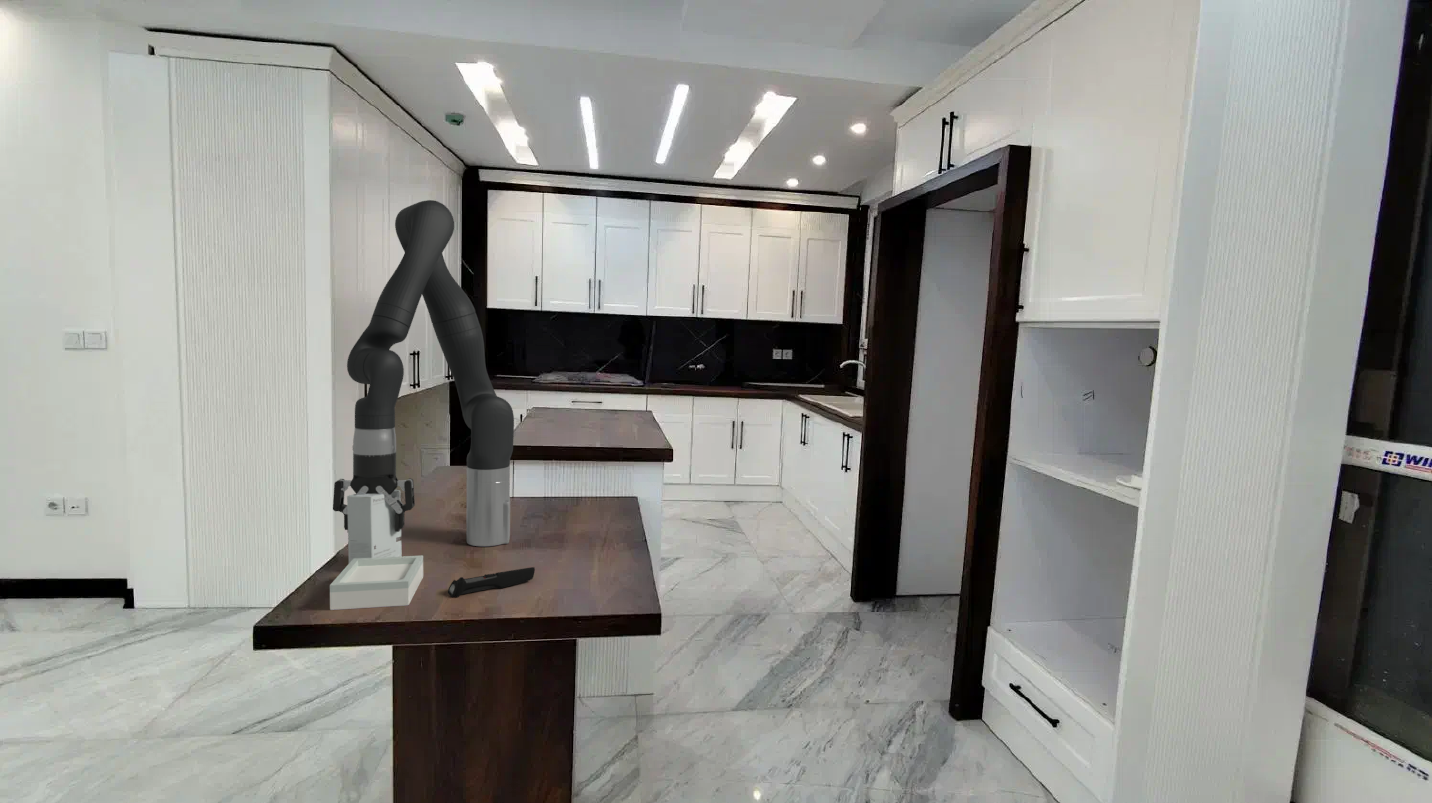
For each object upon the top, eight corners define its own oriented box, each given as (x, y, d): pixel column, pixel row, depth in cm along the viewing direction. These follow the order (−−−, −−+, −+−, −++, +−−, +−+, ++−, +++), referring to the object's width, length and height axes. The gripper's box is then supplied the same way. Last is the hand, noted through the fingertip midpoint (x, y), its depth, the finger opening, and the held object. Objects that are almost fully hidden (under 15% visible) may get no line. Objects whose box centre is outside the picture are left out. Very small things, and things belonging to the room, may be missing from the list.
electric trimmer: (537, 585, 125) (538, 569, 125) (452, 600, 116) (452, 582, 116) (530, 579, 128) (531, 563, 128) (446, 593, 119) (447, 576, 119)
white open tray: (423, 576, 126) (423, 555, 126) (408, 605, 112) (408, 581, 112) (353, 580, 123) (353, 558, 123) (330, 610, 109) (329, 585, 109)
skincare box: (372, 574, 126) (370, 497, 125) (346, 570, 128) (344, 495, 127) (403, 560, 134) (402, 488, 133) (379, 557, 136) (377, 486, 135)
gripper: (417, 447, 135) (417, 525, 136) (341, 447, 131) (341, 527, 133) (409, 453, 127) (409, 536, 129) (328, 453, 124) (328, 537, 125)
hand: (374, 531), depth 131 cm, fingers open, 8 cm apart
